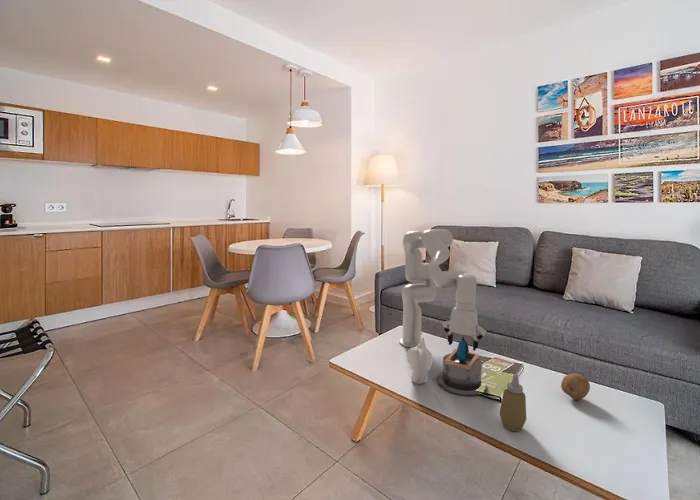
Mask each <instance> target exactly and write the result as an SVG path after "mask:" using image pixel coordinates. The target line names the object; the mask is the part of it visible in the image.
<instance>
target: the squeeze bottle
mask: <svg viewBox="0 0 700 500" xmlns="http://www.w3.org/2000/svg"><path fill="white" fill-rule="evenodd" d="M523 390H524V387H523V385H522V384H520V380H519V375H518V374H513V376H512V379H511V382H508V383H507V384H506V388H505V389H503V394H502V398H501V404H500V408H499V416H500V420H501V423H502V426H503V427H504V428H505V429H507V430H509V431H512V432H520V431H522V429H523V428H524V426H525V424H526V421H527V403H526V402H527V400H526V393H525V392H524V391H523Z"/></svg>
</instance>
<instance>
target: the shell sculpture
mask: <svg viewBox="0 0 700 500" xmlns="http://www.w3.org/2000/svg"><path fill="white" fill-rule="evenodd" d="M424 338H425V337H421V340H420V342H421V344H420V343H419V344H418V345H417V346H416V347H414V348H412V347H409V349H408V350H407V354H406V358H407V364H408V365H409V367H410V368H411V370H412V373H411V376H410V377H411V378H410V379H411V381H412V382H414V383H415V384H417V385H421V384H424V383H425V382H427V374H428V371H430V370H431V368H432V365H433V360H434V358H433V354H432V352H431V351H430V350H429V349H428V348H427V345H426V342H425V339H424Z"/></svg>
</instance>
